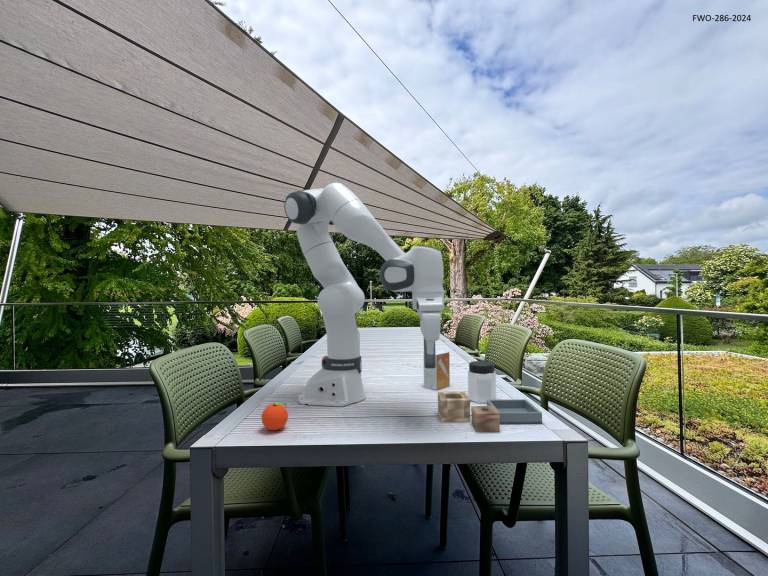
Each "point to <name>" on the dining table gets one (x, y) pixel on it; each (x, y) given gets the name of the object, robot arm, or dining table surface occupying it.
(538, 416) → the tray
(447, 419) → the beech block
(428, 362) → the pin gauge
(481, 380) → the jar
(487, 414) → the walnut block
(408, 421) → the dining table surface
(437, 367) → the small box
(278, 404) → the clementine
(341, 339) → the robot arm
